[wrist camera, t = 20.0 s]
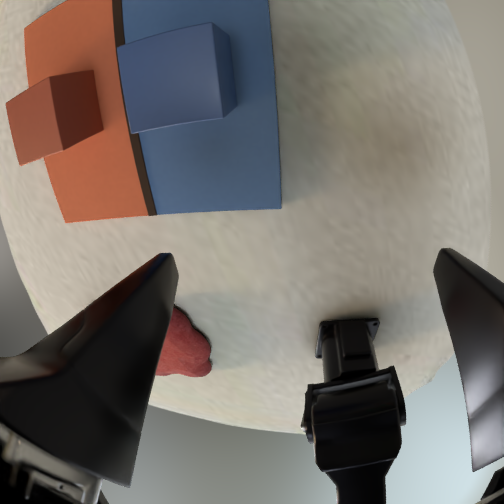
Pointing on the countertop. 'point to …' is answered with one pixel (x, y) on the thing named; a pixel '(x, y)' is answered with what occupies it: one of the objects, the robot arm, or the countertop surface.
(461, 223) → the countertop surface
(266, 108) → the sorting mat
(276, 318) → the countertop surface
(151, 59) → the slate-blue block
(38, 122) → the terracotta block
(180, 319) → the red lumpy blob
